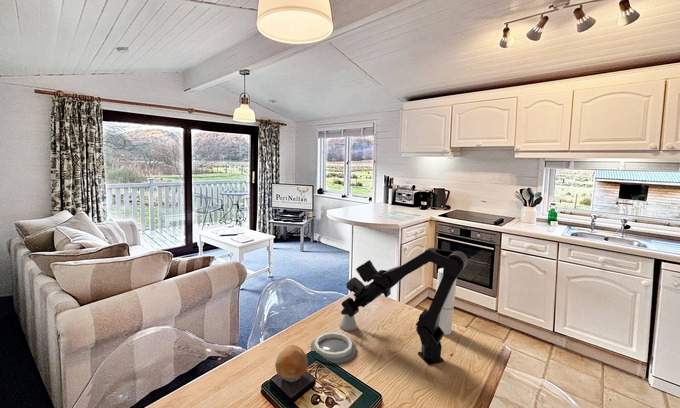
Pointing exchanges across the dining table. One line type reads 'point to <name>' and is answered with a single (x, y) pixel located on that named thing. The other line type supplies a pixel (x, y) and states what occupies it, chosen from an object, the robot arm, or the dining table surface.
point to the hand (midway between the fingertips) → (346, 310)
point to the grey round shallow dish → (334, 347)
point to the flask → (348, 323)
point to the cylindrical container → (446, 307)
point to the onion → (291, 362)
